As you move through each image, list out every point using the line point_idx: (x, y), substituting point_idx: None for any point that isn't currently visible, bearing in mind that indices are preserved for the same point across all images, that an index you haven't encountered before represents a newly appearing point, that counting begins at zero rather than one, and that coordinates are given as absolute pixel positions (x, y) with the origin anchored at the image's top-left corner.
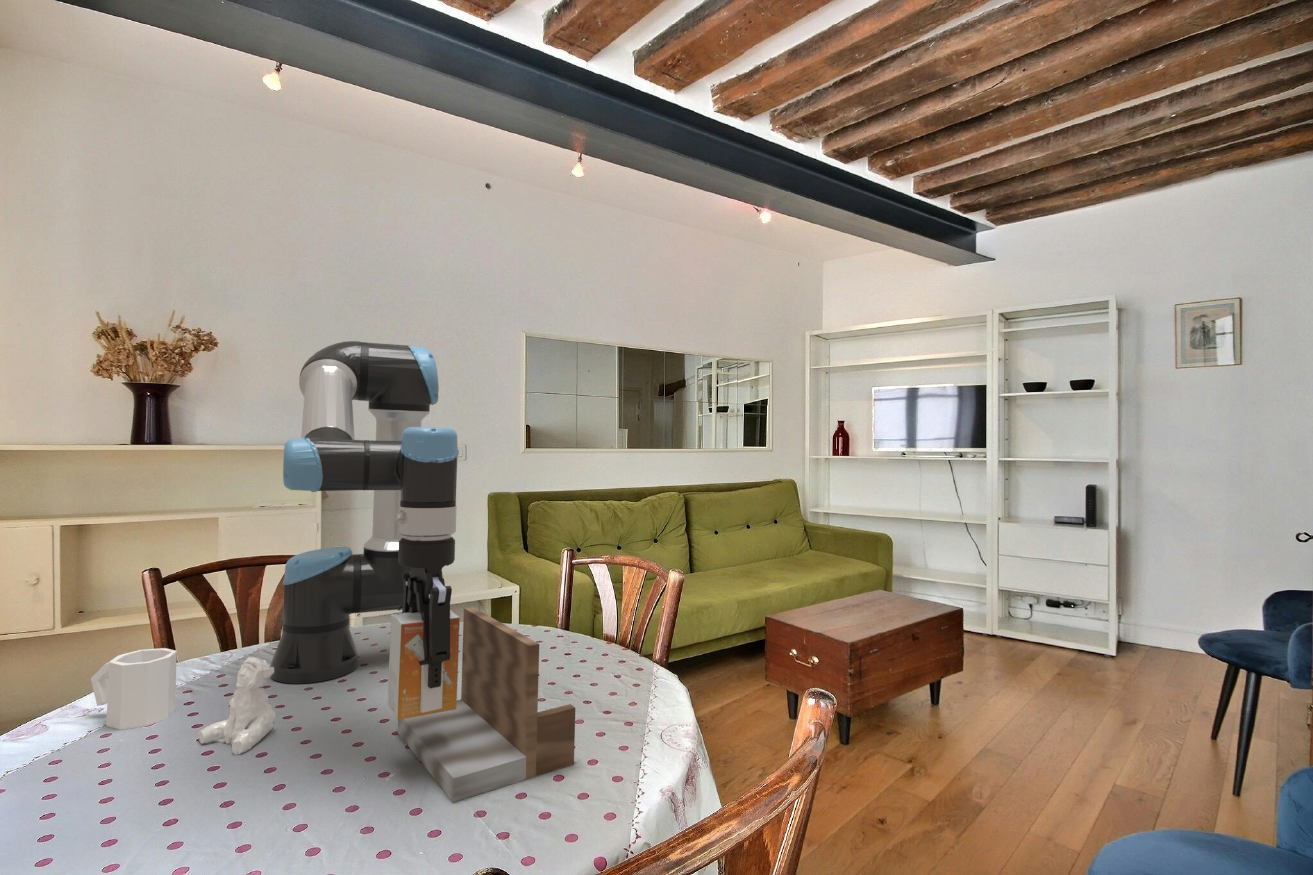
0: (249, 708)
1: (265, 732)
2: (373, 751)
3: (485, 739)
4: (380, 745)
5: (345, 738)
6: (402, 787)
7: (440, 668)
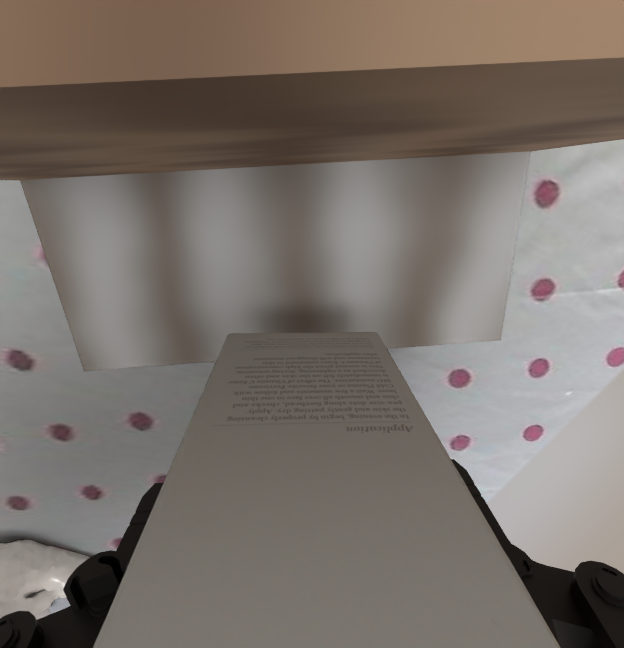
0: None
1: (45, 552)
2: (189, 402)
3: (365, 214)
4: (165, 387)
5: (101, 438)
6: None
7: (500, 530)
